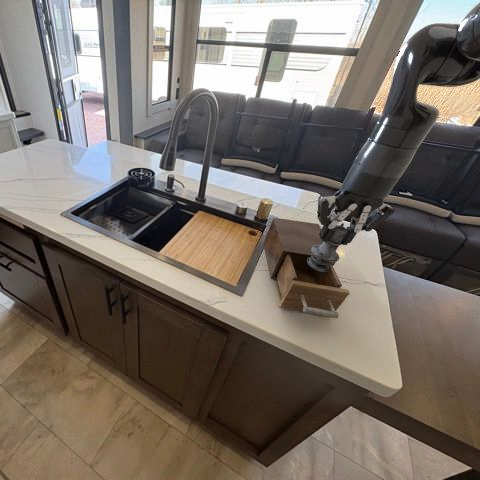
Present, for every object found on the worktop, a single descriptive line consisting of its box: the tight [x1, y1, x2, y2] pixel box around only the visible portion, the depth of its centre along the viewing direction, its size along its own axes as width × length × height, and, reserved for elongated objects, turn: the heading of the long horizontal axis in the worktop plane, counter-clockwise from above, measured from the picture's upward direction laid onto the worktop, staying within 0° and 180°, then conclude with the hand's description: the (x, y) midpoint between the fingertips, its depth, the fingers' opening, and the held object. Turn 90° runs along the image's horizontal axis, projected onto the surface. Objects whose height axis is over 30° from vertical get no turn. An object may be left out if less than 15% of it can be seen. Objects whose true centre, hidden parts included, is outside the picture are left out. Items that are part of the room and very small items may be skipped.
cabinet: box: [262, 217, 337, 280], centre depth 76 cm, size 17×14×11 cm
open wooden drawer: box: [276, 253, 351, 319], centre depth 65 cm, size 20×12×9 cm, turn 169°
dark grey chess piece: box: [307, 222, 347, 272], centre depth 57 cm, size 6×6×12 cm
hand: (332, 241), depth 57 cm, fingers closed on dark grey chess piece, 3 cm apart
